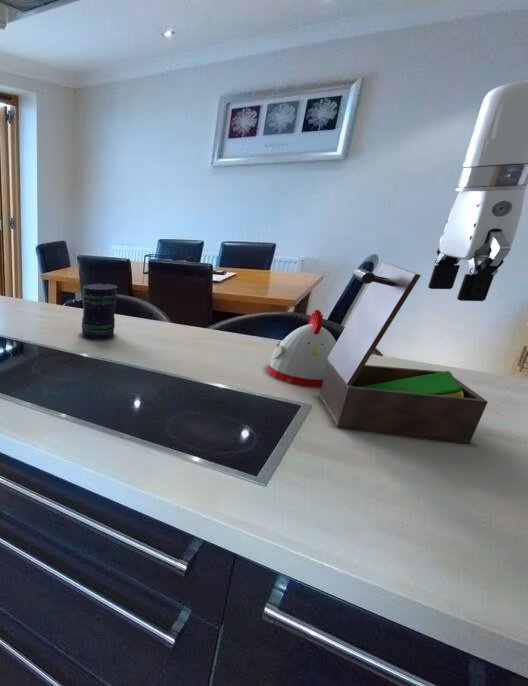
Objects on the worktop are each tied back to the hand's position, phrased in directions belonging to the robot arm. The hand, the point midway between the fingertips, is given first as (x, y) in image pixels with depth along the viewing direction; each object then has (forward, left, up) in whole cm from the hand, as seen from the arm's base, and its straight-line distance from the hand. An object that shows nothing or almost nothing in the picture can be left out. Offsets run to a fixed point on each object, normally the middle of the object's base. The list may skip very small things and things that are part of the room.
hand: (454, 294), depth 72 cm
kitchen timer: (+14, -18, -23) cm, 33 cm away
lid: (+10, +1, -5) cm, 12 cm away
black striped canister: (+65, -36, -23) cm, 78 cm away
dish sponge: (+2, +1, -19) cm, 19 cm away
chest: (+4, +1, -23) cm, 23 cm away
